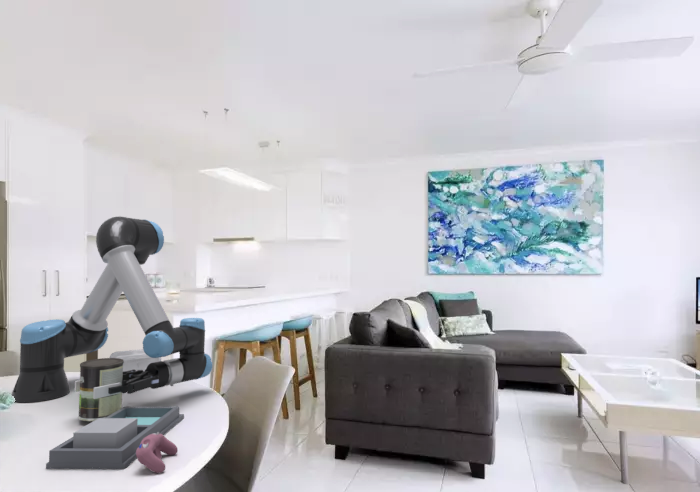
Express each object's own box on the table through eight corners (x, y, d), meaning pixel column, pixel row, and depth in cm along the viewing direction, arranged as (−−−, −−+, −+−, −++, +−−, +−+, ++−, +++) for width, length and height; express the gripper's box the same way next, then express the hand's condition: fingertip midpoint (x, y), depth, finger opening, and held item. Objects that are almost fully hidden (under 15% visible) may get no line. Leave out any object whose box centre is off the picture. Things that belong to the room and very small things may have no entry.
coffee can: (74, 423, 112) (76, 367, 113) (81, 411, 121) (83, 359, 122) (120, 418, 116) (122, 364, 117) (123, 406, 125) (125, 356, 126)
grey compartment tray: (45, 468, 89) (46, 438, 90) (125, 417, 120) (125, 395, 120) (124, 468, 89) (125, 438, 89) (183, 417, 119) (184, 395, 120)
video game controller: (160, 461, 96) (146, 432, 96) (180, 451, 97) (166, 422, 97) (144, 483, 86) (127, 451, 86) (165, 471, 87) (149, 439, 87)
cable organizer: (155, 379, 161) (156, 347, 162) (161, 386, 152) (161, 352, 153) (108, 386, 153) (109, 352, 154) (111, 393, 144) (112, 357, 145)
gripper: (185, 392, 127) (104, 413, 109) (143, 380, 140) (65, 396, 122) (185, 366, 127) (105, 382, 109) (143, 356, 140) (66, 369, 122)
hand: (84, 389), depth 116 cm, fingers closed on coffee can, 10 cm apart
